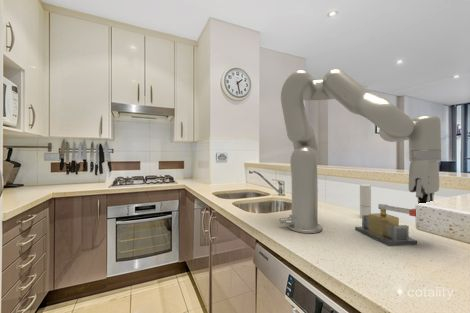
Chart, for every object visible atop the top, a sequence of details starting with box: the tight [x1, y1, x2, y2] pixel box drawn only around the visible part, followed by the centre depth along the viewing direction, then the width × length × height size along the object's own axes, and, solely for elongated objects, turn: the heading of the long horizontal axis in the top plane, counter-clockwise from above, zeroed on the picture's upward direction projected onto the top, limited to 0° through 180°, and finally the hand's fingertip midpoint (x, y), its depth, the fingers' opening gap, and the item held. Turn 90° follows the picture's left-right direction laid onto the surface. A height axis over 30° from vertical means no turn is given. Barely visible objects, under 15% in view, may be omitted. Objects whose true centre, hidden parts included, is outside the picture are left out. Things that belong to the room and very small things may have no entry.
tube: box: [359, 183, 372, 219], centre depth 98 cm, size 4×4×15 cm
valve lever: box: [378, 203, 417, 218], centre depth 70 cm, size 14×3×2 cm, turn 30°
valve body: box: [354, 209, 418, 247], centre depth 74 cm, size 10×15×9 cm, turn 8°
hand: (425, 215), depth 67 cm, fingers closed
